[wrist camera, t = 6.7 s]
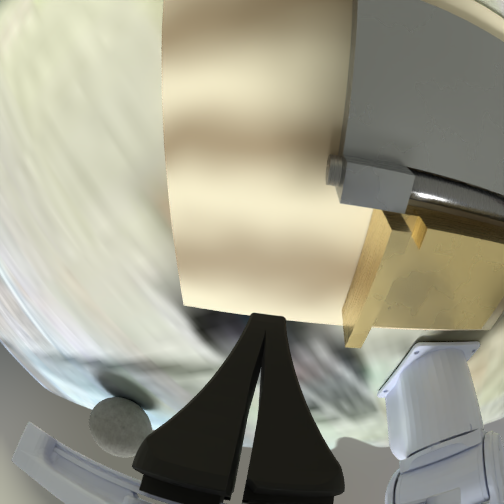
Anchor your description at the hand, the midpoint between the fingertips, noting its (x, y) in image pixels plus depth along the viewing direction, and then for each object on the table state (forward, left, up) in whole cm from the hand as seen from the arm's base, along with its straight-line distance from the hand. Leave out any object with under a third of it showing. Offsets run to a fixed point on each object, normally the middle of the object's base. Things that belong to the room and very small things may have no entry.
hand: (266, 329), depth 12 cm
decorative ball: (-32, +20, -6) cm, 39 cm away
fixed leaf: (+10, -10, -6) cm, 15 cm away
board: (+6, -7, -6) cm, 11 cm away
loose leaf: (0, -11, -5) cm, 12 cm away
